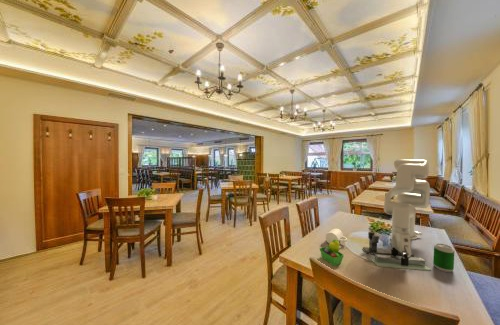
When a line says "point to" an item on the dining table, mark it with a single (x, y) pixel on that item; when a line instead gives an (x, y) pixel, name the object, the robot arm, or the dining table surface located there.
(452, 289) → the dining table surface
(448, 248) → the soda can
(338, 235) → the mug
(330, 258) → the fruit basket
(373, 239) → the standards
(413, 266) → the mat
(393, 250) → the robot arm
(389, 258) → the rail
